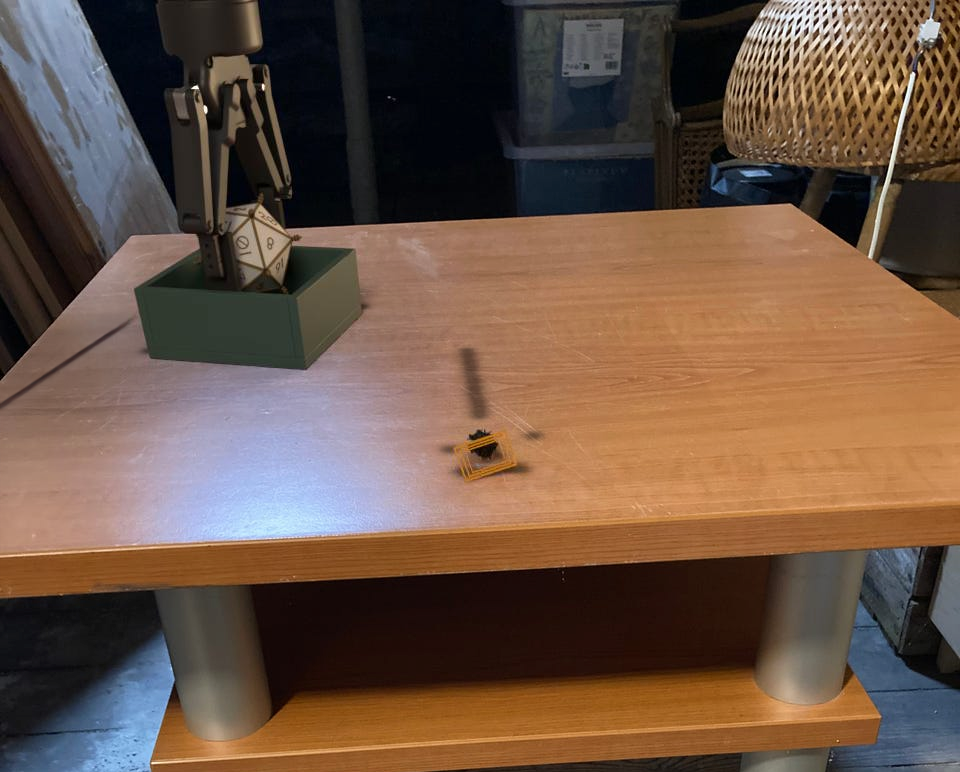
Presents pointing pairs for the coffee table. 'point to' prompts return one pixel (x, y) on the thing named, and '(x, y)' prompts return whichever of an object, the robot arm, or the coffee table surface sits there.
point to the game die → (258, 247)
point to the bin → (252, 312)
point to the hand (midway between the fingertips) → (253, 293)
